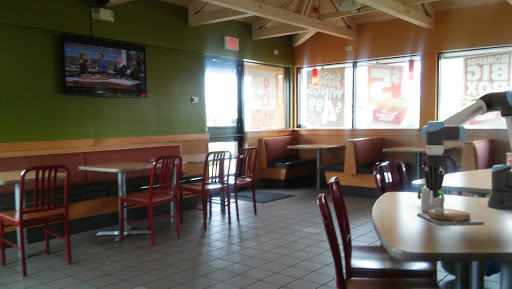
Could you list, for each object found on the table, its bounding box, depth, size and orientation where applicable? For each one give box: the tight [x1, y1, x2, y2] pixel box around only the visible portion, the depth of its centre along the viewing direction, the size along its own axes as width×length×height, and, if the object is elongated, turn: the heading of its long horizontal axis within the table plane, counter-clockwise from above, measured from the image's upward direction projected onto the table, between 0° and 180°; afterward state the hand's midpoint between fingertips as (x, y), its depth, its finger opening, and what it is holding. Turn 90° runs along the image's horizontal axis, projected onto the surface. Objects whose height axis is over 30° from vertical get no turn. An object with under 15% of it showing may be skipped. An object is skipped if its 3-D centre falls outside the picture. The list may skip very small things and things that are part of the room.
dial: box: [427, 196, 471, 221], centre depth 199 cm, size 19×18×10 cm
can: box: [420, 187, 435, 213], centre depth 218 cm, size 8×8×12 cm
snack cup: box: [417, 187, 446, 202], centre depth 228 cm, size 16×10×10 cm
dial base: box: [416, 212, 485, 226], centre depth 199 cm, size 21×21×1 cm
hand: (433, 204), depth 197 cm, fingers closed
